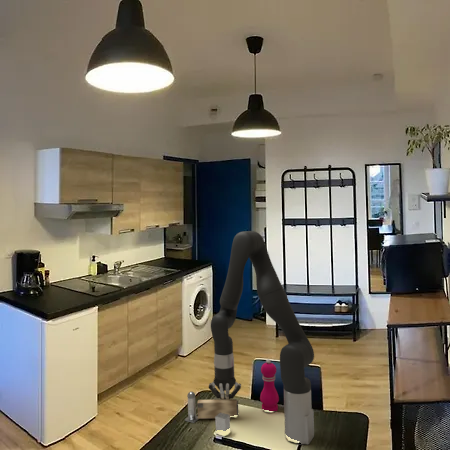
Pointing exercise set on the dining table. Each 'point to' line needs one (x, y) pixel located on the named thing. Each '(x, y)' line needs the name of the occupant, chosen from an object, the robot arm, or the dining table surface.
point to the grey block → (222, 421)
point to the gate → (217, 407)
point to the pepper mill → (269, 387)
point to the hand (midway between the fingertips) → (225, 408)
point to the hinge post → (191, 408)
